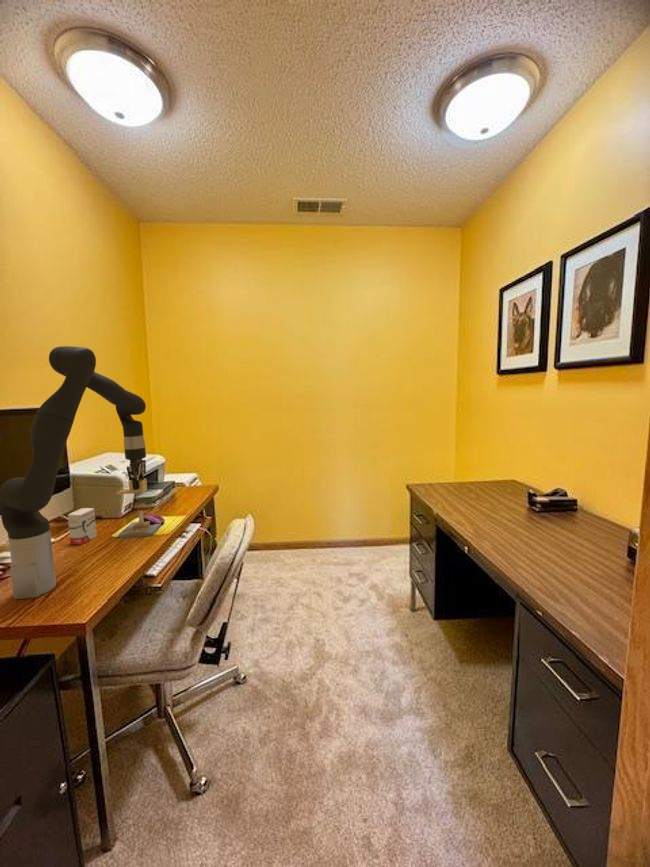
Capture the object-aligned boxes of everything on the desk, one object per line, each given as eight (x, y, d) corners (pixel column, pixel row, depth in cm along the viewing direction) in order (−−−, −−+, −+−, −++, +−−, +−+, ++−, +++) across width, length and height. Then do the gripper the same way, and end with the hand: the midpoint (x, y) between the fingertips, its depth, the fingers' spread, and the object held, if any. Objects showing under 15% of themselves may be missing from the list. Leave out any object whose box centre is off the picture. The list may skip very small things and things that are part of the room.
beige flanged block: (147, 489, 150) (146, 478, 149) (142, 493, 145) (141, 480, 144) (121, 491, 149) (120, 479, 148) (116, 494, 144) (115, 482, 143)
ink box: (82, 544, 136) (79, 514, 134) (70, 545, 136) (66, 515, 135) (97, 535, 144) (94, 507, 143) (85, 536, 144) (82, 507, 143)
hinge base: (153, 535, 144) (151, 515, 143) (118, 537, 142) (116, 518, 141) (163, 522, 157) (162, 505, 156) (132, 525, 156) (130, 507, 155)
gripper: (137, 449, 138) (142, 492, 140) (150, 443, 152) (154, 482, 155) (117, 450, 137) (121, 493, 139) (132, 444, 151) (135, 483, 154)
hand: (138, 487), depth 147 cm, fingers closed on beige flanged block, 5 cm apart
